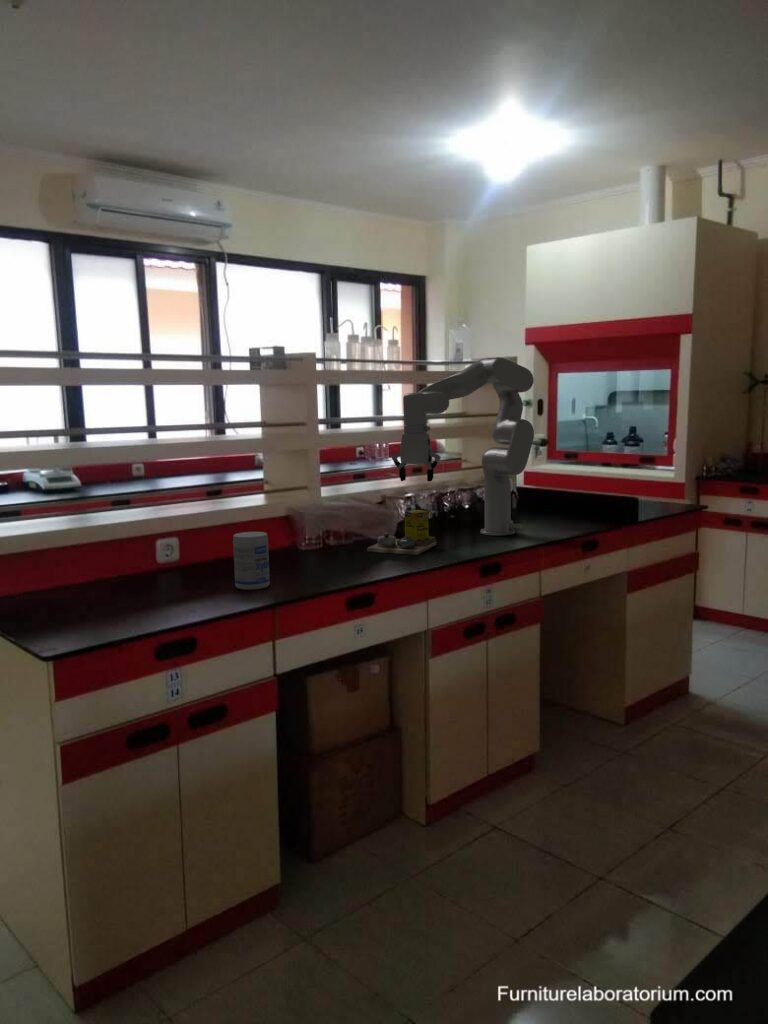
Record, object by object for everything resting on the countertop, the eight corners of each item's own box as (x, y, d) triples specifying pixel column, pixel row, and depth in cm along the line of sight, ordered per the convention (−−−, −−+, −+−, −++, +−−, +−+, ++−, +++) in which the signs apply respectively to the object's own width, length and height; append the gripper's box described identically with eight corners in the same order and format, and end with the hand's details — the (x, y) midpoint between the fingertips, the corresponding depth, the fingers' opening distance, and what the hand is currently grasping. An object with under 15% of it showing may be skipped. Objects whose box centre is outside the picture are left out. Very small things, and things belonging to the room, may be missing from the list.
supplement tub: (263, 591, 210) (261, 537, 208) (230, 590, 212) (227, 537, 209) (274, 582, 220) (272, 531, 217) (242, 582, 221) (239, 530, 219)
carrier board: (436, 544, 269) (436, 529, 268) (417, 554, 253) (417, 538, 252) (388, 541, 276) (388, 526, 275) (367, 551, 260) (366, 535, 259)
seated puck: (416, 546, 260) (416, 539, 260) (411, 549, 256) (411, 542, 255) (402, 545, 262) (402, 538, 262) (397, 548, 258) (396, 541, 257)
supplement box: (416, 545, 262) (416, 513, 261) (404, 543, 267) (404, 511, 265) (429, 542, 266) (428, 511, 264) (417, 540, 271) (416, 509, 269)
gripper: (443, 429, 262) (444, 479, 264) (395, 429, 268) (397, 479, 271) (435, 430, 255) (436, 482, 257) (387, 431, 262) (388, 481, 264)
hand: (416, 480), depth 264 cm, fingers open, 9 cm apart
